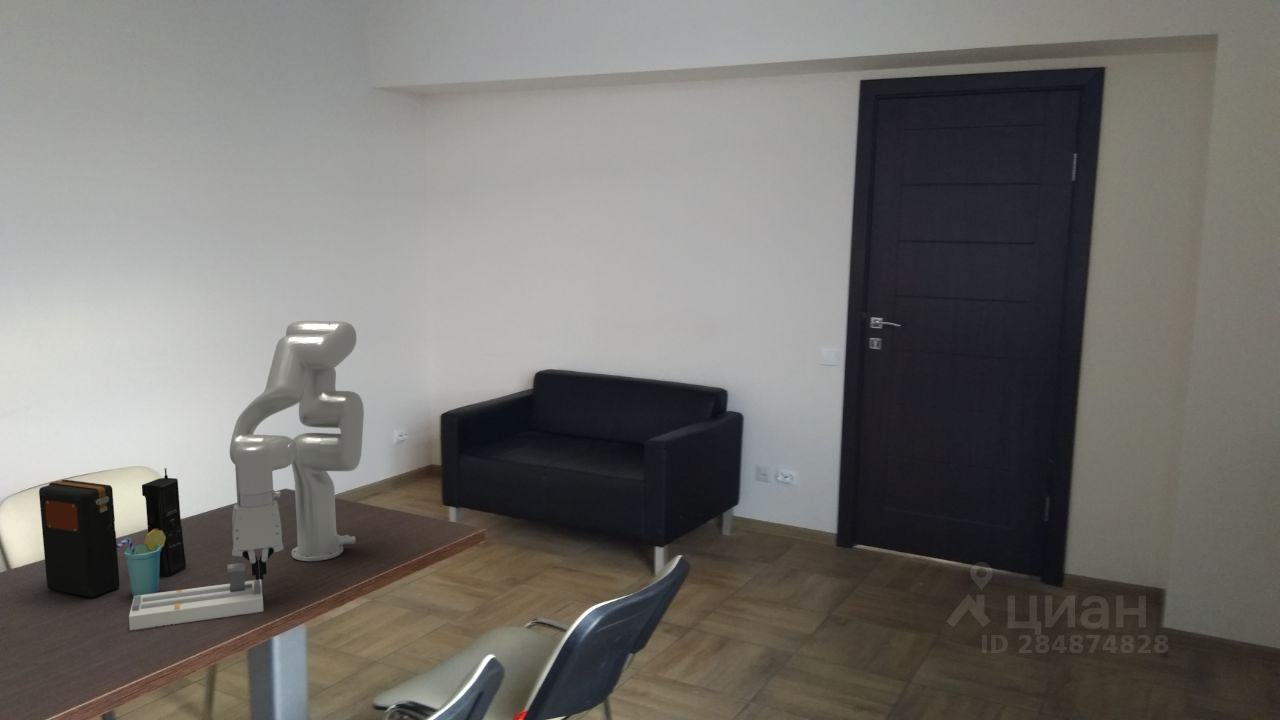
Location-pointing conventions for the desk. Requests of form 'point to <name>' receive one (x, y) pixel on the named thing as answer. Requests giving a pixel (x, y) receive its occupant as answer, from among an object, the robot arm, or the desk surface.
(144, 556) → the cup
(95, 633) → the desk surface
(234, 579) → the fader tab
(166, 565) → the portable radio
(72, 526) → the black speaker
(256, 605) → the slider track base
